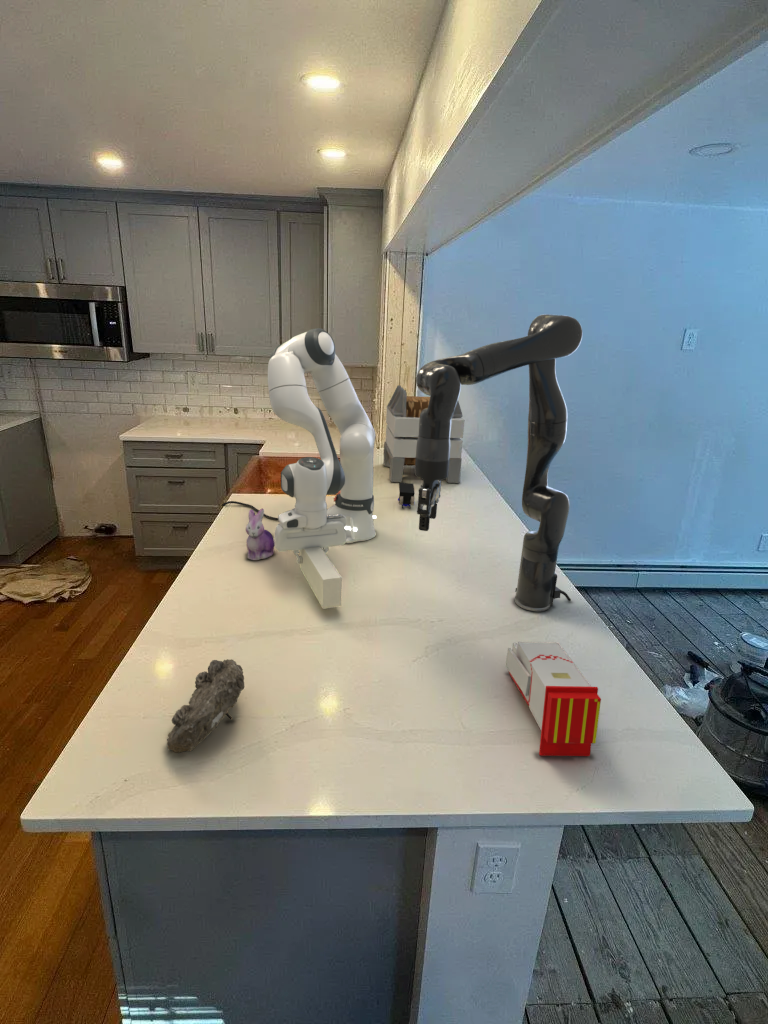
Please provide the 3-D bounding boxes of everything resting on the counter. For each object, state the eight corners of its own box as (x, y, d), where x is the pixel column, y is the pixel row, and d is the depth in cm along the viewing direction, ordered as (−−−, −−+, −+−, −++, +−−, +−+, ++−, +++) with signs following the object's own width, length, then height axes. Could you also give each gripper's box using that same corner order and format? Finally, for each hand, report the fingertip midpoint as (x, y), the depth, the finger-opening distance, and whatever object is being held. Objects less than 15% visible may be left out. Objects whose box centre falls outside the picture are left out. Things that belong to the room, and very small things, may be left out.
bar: (299, 568, 165) (299, 542, 162) (316, 566, 167) (316, 540, 164) (322, 608, 143) (323, 579, 141) (341, 606, 145) (342, 577, 142)
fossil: (192, 660, 117) (244, 628, 112) (224, 691, 120) (276, 661, 115) (142, 746, 98) (202, 712, 93) (182, 779, 101) (242, 748, 96)
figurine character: (415, 514, 223) (412, 498, 237) (416, 496, 220) (414, 481, 234) (398, 513, 223) (396, 497, 237) (399, 496, 220) (397, 480, 233)
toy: (554, 624, 127) (610, 694, 97) (548, 679, 130) (602, 763, 100) (500, 623, 126) (541, 693, 97) (496, 678, 129) (534, 763, 100)
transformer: (382, 463, 289) (386, 382, 275) (445, 464, 293) (451, 384, 279) (390, 482, 257) (394, 392, 243) (460, 483, 261) (468, 394, 247)
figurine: (249, 563, 172) (248, 517, 167) (241, 550, 180) (239, 506, 175) (280, 558, 176) (279, 513, 171) (270, 546, 184) (269, 502, 179)
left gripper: (343, 509, 164) (341, 553, 169) (272, 515, 157) (273, 560, 161) (349, 517, 159) (348, 562, 163) (277, 523, 151) (277, 570, 156)
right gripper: (443, 465, 119) (437, 537, 124) (454, 450, 132) (448, 516, 137) (408, 461, 120) (404, 532, 126) (423, 447, 133) (418, 512, 139)
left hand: (310, 561), depth 162 cm, fingers closed on bar, 5 cm apart
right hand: (427, 523), depth 131 cm, fingers open, 8 cm apart
